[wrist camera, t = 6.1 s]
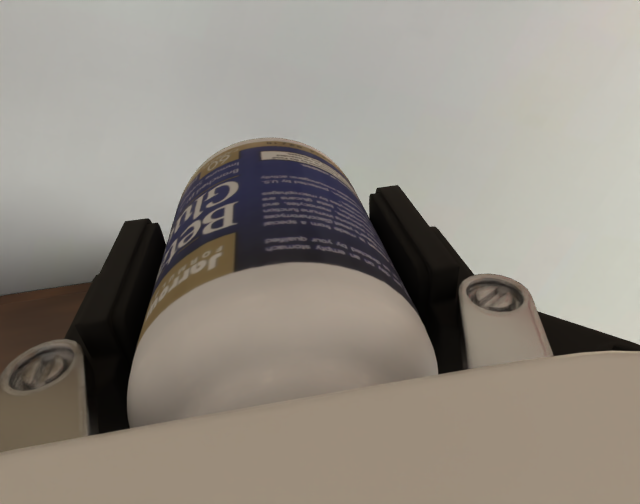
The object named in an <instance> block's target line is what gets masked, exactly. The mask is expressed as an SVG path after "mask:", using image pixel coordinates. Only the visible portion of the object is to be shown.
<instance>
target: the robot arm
mask: <svg viewBox="0 0 640 504" xmlns="http://www.w3.org/2000/svg"><path fill="white" fill-rule="evenodd" d="M369 217H370V221H371V223H372V225H373V227H374V229H375V231H376V232H377V234H378V236H379V238H380V240H381V242H382V244H383V246H384V248H385V250H386V252H387V254H388V256H389V258H390V259H391V261H392V263H393V265H394V267H395V269H396V271H397V273H398V275H399V277H400V279H401V281H402V283H403V285H404V287H405V289H406V291H407V292H408V294H409V296H410V298H411V300H412V302H413V304H414V305H415V307H416V309H417V311H418V313H419V315H420V318H421V321H422V323H423V325H424V327H425V329H426V332H427V334H428V336H429V338H430V341H431V343H432V346H433V349H434V352H435V356H436V360H437V366H438V375H432V376H426V377H420V378H414V379H408V380H403V381H397V382H391V383H385V384H379V385H373V386H367V387H361V388H355V389H350V390H344V391H338V392H333V393H327V394H321V395H315V396H310V397H304V398H298V399H292V400H287V401H281V402H275V403H270V404H264V405H258V406H253V407H247V408H241V409H236V410H230V411H224V412H219V413H213V414H207V415H202V416H196V417H191V418H185V419H180V420H174V421H169V422H163V423H158V424H152V425H146V426H141V427H135V428H130V426H129V422H128V415H127V391H128V382H129V377H130V372H131V368H132V362H133V358H134V354H135V349H136V345H137V342H138V339H139V336H140V333H141V329H142V326H143V322H144V319H145V315H146V312H147V309H148V306H149V303H150V300H151V296H152V293H153V289H154V286H155V283H156V279H157V276H158V273H159V269H160V266H161V262H162V259H163V255H164V252H165V248H166V244H165V240H164V237H163V234H162V231H161V228H160V226H159V224H158V223H152V222H151V221H150V220H149V219H140V220H132V221H125V223H124V224H123V226H122V228H121V231H120V233H119V235H118V237H117V239H116V241H115V243H114V245H113V247H112V249H111V251H110V253H109V255H108V257H107V259H106V261H105V263H104V265H103V267H102V270H101V272H100V274H99V275H96V277H95V278H94V279H93V281H92V283H91V285H90V287H89V289H88V291H87V293H86V295H85V297H84V299H83V301H82V303H81V305H80V307H79V309H78V311H77V313H76V315H75V317H74V319H73V321H72V323H71V325H70V327H69V329H68V331H67V333H66V335H65V337H64V339H60V340H52V341H49V342H45V343H42V344H39V345H37V346H35V347H32V348H30V349H29V350H27V351H25V352H24V353H22V354H20V355H19V356H18V357H16V358H15V359H14V360H13V361H12V362H11V363H9V364H8V366H7V367H6V368H5V370H4V371H3V372H2V374H1V376H0V504H640V345H638V344H636V343H633V342H630V341H627V340H624V339H621V338H618V337H615V336H611V335H608V334H605V333H602V332H599V331H596V330H593V329H590V328H587V327H584V326H581V325H578V324H575V323H571V322H568V321H565V320H562V319H559V318H556V317H553V316H550V315H547V314H544V313H541V312H538V311H537V309H536V307H535V304H534V301H533V298H532V296H531V294H530V293H529V291H528V289H527V288H525V287H524V286H523V285H522V284H521V283H519V282H517V281H515V280H513V279H511V278H508V277H505V276H502V275H496V274H478V275H474V274H473V273H472V271H471V270H470V269H469V268H468V266H467V265H466V264H465V263H464V261H463V260H462V259H461V258H460V256H459V255H458V254H457V252H456V251H455V250H454V249H453V247H452V246H451V245H450V244H449V242H448V241H447V240H446V238H445V237H444V236H443V235H442V233H441V232H440V231H439V230H438V229H437V228H436V227H429V225H428V224H427V223H426V221H425V220H424V219H423V217H422V216H421V215H420V213H419V212H418V211H417V210H416V208H415V207H414V206H413V204H412V203H411V202H410V200H409V199H408V198H407V196H406V195H405V194H404V192H403V191H402V190H401V188H400V187H399V186H398V185H396V186H388V187H381V188H377V189H376V193H375V194H370V197H369Z"/></svg>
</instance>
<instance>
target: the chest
mask: <svg viewBox="0 0 640 504" xmlns="http://www.w3.org/2000/svg"><path fill="white" fill-rule="evenodd" d="M91 283H92V282H90V283H83V284H77V285H70V286H63V287H56V288H50V289H43V290H36V291H30V292H23V293H16V294H10V295H3V296H0V376H1V374H2V372H3V371H4V370H5V368H6V367H7V366H8V364H9V363H11V362H12V361H13V360H14V359H15V358H16V357H18V356H19V355H20V354H22V353H24V352H25V351H27V350H29V349H30V348H32V347H35V346H37V345H39V344H42V343H45V342H49V341H52V340H60V339H64V337H65V335H66V333H67V331H68V329H69V327H70V325H71V323H72V321H73V319H74V317H75V315H76V313H77V311H78V309H79V307H80V305H81V303H82V301H83V299H84V297H85V295H86V293H87V291H88V289H89V287H90V285H91Z"/></svg>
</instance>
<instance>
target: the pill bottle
mask: <svg viewBox="0 0 640 504" xmlns="http://www.w3.org/2000/svg"><path fill="white" fill-rule="evenodd" d="M432 375H438V366H437V360H436V356H435V352H434V349H433V346H432V343H431V341H430V338H429V336H428V334H427V332H426V329H425V327H424V325H423V323H422V321H421V318H420V315H419V313H418V311H417V309H416V307H415V305H414V304H413V302H412V300H411V298H410V296H409V294H408V292H407V291H406V289H405V287H404V285H403V283H402V281H401V279H400V277H399V275H398V273H397V271H396V269H395V267H394V265H393V263H392V261H391V259H390V258H389V256H388V254H387V252H386V250H385V248H384V246H383V244H382V242H381V240H380V238H379V236H378V234H377V232H376V231H375V229H374V227H373V225H372V223H371V221H370V219H369V217H368V215H367V213H366V211H365V209H364V207H363V205H362V203H361V201H360V200H359V198H358V196H357V194H356V192H355V190H354V188H353V187H352V185H351V183H350V181H349V180H348V178H347V177H346V176H345V174H344V173H343V172H342V170H341V169H340V168H339V167H338V166H337V165H336V164H335V163H334V162H333V161H332V160H331V159H330V158H329V157H327V156H326V155H325V154H323V153H322V152H320V151H318V150H317V149H315V148H313V147H311V146H308V145H306V144H303V143H300V142H297V141H293V140H288V139H283V138H258V139H251V140H246V141H242V142H239V143H235V144H233V145H230V146H228V147H226V148H224V149H222V150H220V151H219V152H217V153H215V154H214V155H213V156H211V157H210V158H209V159H207V160H206V161H205V162H204V163H203V164H202V165H201V166H200V167H199V168H198V169H197V170H196V172H195V173H194V175H193V176H192V177H191V179H190V181H189V182H188V184H187V186H186V188H185V190H184V192H183V194H182V197H181V199H180V202H179V205H178V208H177V211H176V215H175V218H174V222H173V225H172V228H171V232H170V235H169V239H168V242H167V245H166V248H165V252H164V255H163V259H162V262H161V266H160V269H159V273H158V276H157V279H156V283H155V286H154V289H153V293H152V296H151V300H150V303H149V306H148V309H147V312H146V315H145V319H144V322H143V326H142V329H141V333H140V336H139V339H138V342H137V345H136V349H135V354H134V358H133V362H132V368H131V372H130V377H129V382H128V391H127V415H128V422H129V426H130V428H135V427H141V426H146V425H152V424H158V423H163V422H169V421H174V420H180V419H185V418H191V417H196V416H202V415H207V414H213V413H219V412H224V411H230V410H236V409H241V408H247V407H253V406H258V405H264V404H270V403H275V402H281V401H287V400H292V399H298V398H304V397H310V396H315V395H321V394H327V393H333V392H338V391H344V390H350V389H355V388H361V387H367V386H373V385H379V384H385V383H391V382H397V381H403V380H408V379H414V378H420V377H426V376H432Z"/></svg>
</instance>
